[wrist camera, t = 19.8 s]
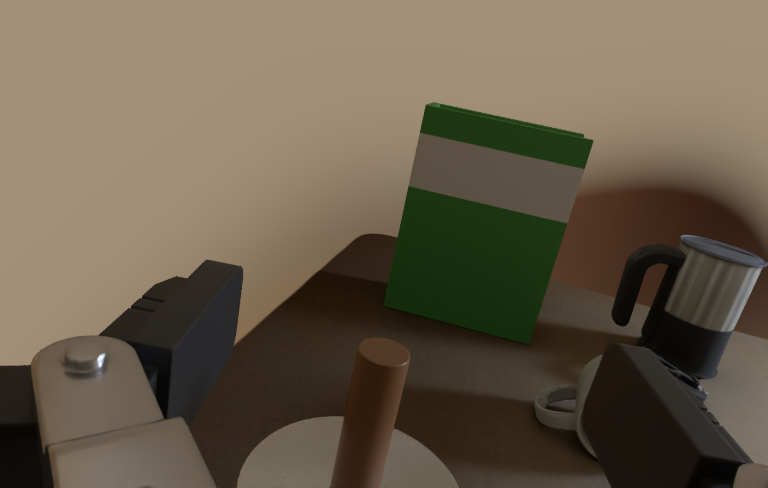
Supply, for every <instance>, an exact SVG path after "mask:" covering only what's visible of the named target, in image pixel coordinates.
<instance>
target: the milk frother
mask: <svg viewBox="0 0 768 488" xmlns="http://www.w3.org/2000/svg"><path fill="white" fill-rule="evenodd" d="M680 239H681V241H682V242H681V245H680V247H679V248H677V247H672V246H668V245H662V244H650V245H646V246H643V247H641V248H639V249H637V250H636V251H635V252H633V253H632V254H631V255H630V257H629V258H628V260H627V262H626V265H625V268H624V271H623V275H622V278H621V281H620V285H619V289H618V292H617V295H616V298H615V302H614V305H613V309H612V318H613V321H614V322H615V323H616V324H617V325H619V326H625V325H627V324H628V323H629V320H630V317H631V315H632V312H633V308H634V305H635V302H636V299H637V296H638V293H639V290H640V287H641V284H642V281H643V278H644V275H645V272H646V271H647V269H648V268H649V267H651V266H652V265H655V264H658V263H663V264H667V265H668V268H667V270H666V272H665V274H664V277H663V280H662V282H661V285H660V287H659V289H658V292H657V294H656V297H655V299H654V301H653V304H652V306H651V309H650V311H649V313H648V316H647V318H646V320H645V323H644V325H643V327H642V331H641V333H642V336H641V337H640V338H639V339H638V341H637V344H638V347H642V348H647V349H650V350H651V351H652V352H653V353H654V354H655V355H656V357H657V358H658V359H659V360H660V361H661V363H662V364H663V365H664V366H665V367H666V368H667V370H668V371H669V372H670V373H671V374H672V376H673V377H674V378H675V379H676V380H677V381H679V382H680V383H681V384H683V385H684V386H685V387H687V388H688V389H690V390H691V391H692V392H693V393H694V394H695V395H696V396H697V397H698V399H699V400H700V401H701V402H704V401H705V399H706V398H707V394H706V393H708V391H706V390H703V389H702V388H701V387H700V386H699V384H700V381H699V380H698V379H697V378H712V377H714V376H716V374H717V366H718V364H719V361H720V359H721V356H722V354H723V352H724V349H725V347H726V345H727V342H728V340H729V338H730V336H731V334H732V332H733V329H734V327H735V325H736V323H737V321H738V319H739V317H740V314H741V312H742V310H743V308H744V306H745V304H746V302H747V299H748V297H749V295H750V293H751V291H752V289H753V286H754V284H755V282H756V280H757V278H758V276H759V273H760V271H761V269H762V268H763V267H765V266H767V262H766V261H765V260H763V259H762V258H760V257H758V256H756V255H754V254H752V253H750V252H748V251H745V250H742V249H740V248H737V247H734V246H732V245H728V244H725V243H722V242H718V241H714V240H711V239H707V238H702V237H698V236H691V235H682V236H680ZM696 377H697V378H696Z"/></svg>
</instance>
